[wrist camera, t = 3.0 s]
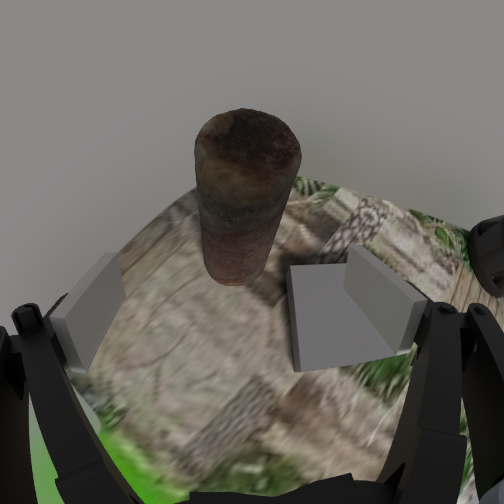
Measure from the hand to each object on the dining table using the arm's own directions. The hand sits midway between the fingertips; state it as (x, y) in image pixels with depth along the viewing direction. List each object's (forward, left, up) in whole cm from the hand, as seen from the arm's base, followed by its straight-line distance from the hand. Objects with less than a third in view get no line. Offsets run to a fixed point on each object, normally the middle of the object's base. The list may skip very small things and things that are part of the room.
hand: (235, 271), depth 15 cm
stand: (-13, 0, -18) cm, 22 cm away
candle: (-1, -8, -18) cm, 20 cm away
